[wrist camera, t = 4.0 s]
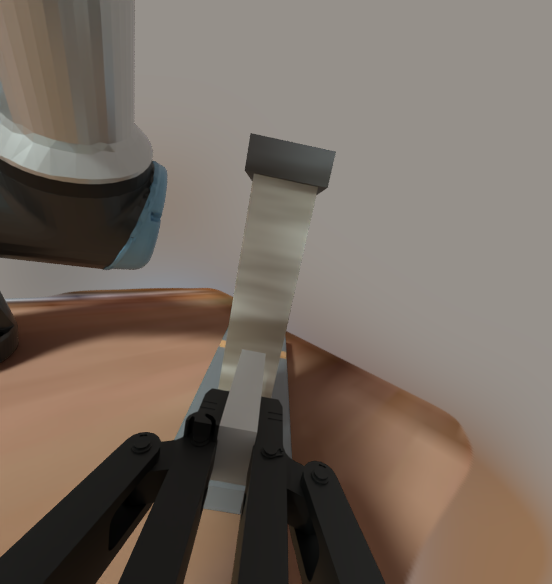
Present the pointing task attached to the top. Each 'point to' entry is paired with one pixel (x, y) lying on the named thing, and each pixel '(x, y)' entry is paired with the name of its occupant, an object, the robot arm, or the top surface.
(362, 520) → the top surface
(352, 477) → the top surface
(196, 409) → the fader console
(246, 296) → the lever
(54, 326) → the top surface
